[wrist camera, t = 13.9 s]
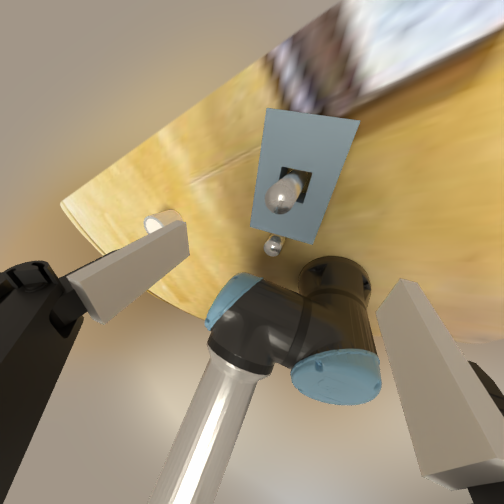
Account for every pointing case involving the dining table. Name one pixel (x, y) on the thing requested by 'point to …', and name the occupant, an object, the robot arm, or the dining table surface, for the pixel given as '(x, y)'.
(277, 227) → the hole block
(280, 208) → the tall pin
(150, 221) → the shot glass
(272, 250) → the short pin
